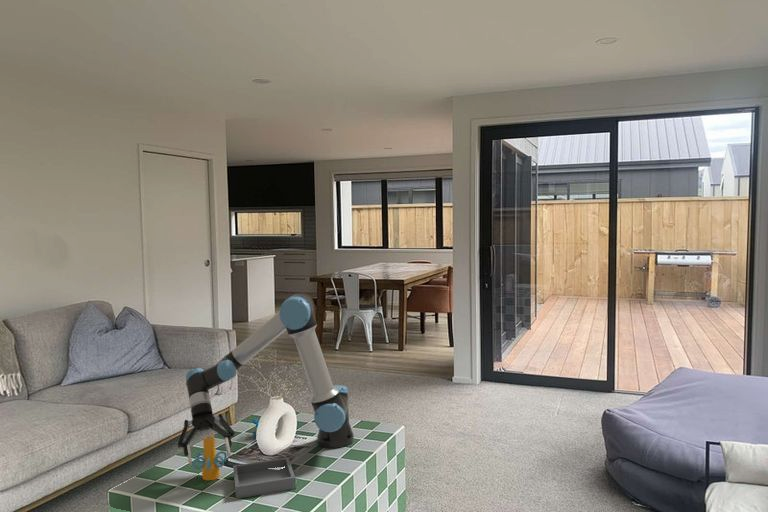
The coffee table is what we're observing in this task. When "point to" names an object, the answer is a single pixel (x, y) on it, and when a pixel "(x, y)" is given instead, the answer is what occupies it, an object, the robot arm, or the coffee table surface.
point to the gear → (255, 424)
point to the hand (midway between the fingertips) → (210, 459)
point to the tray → (263, 477)
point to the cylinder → (210, 459)
